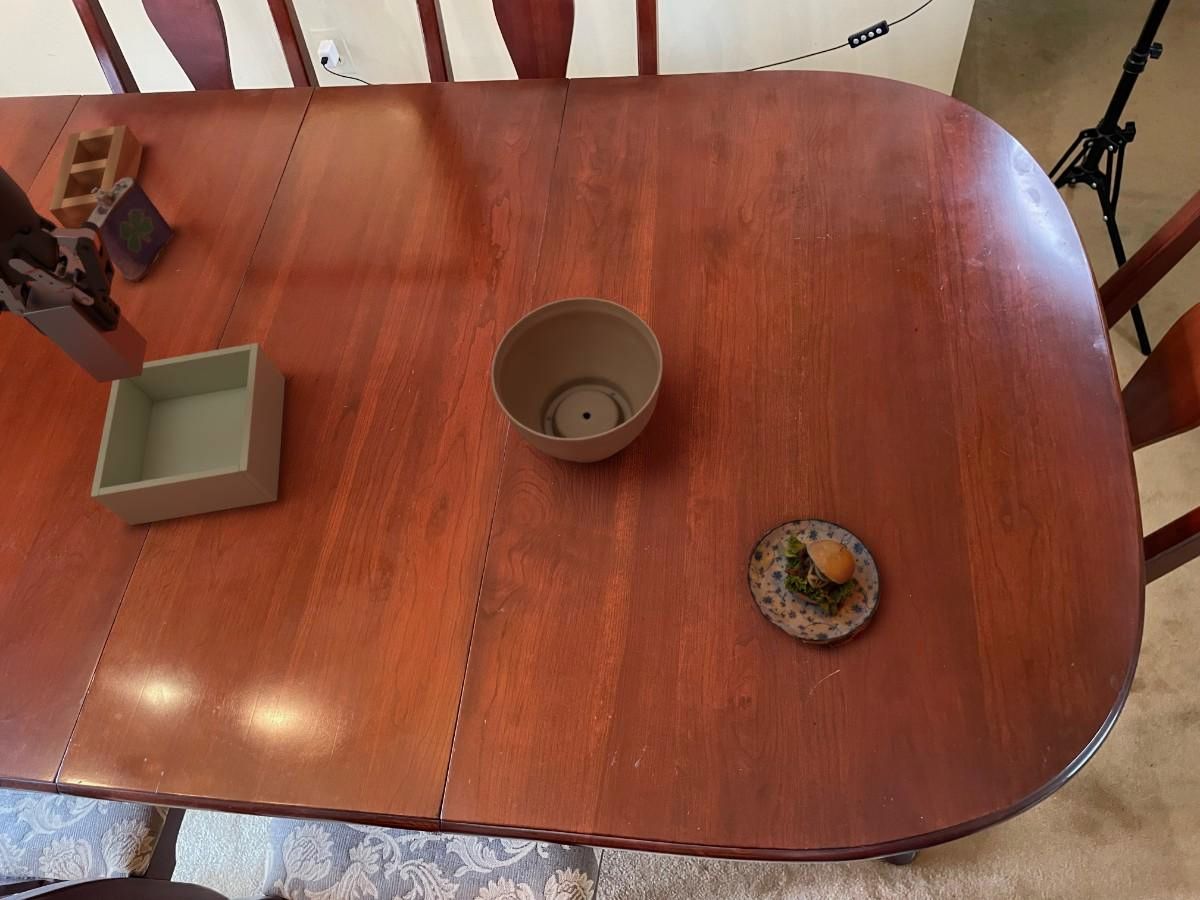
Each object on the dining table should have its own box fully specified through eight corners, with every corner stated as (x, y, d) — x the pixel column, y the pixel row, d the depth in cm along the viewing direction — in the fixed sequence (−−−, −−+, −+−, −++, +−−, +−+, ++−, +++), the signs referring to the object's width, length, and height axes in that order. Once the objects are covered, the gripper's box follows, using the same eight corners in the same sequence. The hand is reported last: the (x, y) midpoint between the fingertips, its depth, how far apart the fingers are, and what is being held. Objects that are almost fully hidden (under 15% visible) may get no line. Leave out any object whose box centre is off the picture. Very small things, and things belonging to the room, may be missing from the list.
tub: (130, 525, 88) (90, 496, 82) (150, 401, 96) (114, 367, 90) (277, 500, 88) (246, 470, 82) (285, 378, 96) (258, 342, 90)
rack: (68, 232, 111) (48, 209, 108) (87, 157, 119) (69, 134, 115) (128, 221, 111) (109, 199, 108) (143, 147, 118) (126, 123, 115)
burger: (737, 532, 81) (740, 497, 74) (862, 518, 80) (876, 481, 74) (758, 655, 75) (763, 629, 68) (893, 642, 74) (911, 614, 68)
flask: (140, 284, 105) (86, 221, 96) (121, 280, 106) (65, 217, 97) (178, 230, 109) (130, 165, 100) (159, 226, 110) (109, 161, 101)
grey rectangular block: (99, 383, 77) (22, 314, 68) (106, 348, 79) (32, 277, 70) (141, 376, 77) (70, 305, 68) (147, 341, 79) (79, 268, 70)
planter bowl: (550, 520, 83) (530, 468, 74) (490, 399, 91) (466, 338, 82) (694, 451, 85) (693, 392, 76) (624, 339, 93) (615, 273, 84)
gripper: (-184, 233, 57) (0, 377, 72) (21, 196, 57) (163, 348, 72) (-149, 157, 61) (18, 308, 76) (43, 122, 60) (173, 281, 75)
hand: (88, 327), depth 73 cm, fingers closed on grey rectangular block, 4 cm apart
